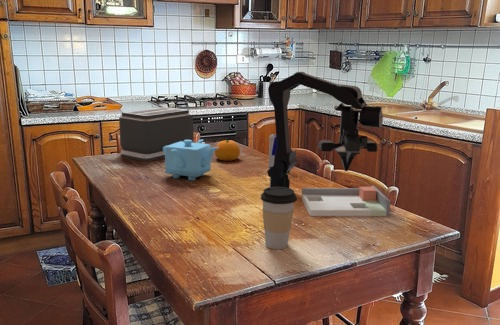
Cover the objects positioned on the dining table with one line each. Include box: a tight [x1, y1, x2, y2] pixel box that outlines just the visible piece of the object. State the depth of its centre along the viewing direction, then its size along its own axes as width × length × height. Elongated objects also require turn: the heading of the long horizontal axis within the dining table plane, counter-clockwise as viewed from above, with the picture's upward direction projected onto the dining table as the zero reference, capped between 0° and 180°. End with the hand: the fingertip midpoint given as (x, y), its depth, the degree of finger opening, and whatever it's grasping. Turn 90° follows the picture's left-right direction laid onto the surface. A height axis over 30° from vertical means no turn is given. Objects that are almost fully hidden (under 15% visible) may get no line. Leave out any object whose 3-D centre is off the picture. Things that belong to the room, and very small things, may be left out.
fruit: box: [214, 138, 241, 162], centre depth 220 cm, size 12×12×10 cm
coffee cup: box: [260, 186, 298, 250], centre depth 125 cm, size 9×9×15 cm
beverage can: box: [268, 133, 277, 169], centre depth 203 cm, size 5×5×15 cm
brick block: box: [359, 186, 377, 201], centre depth 161 cm, size 4×4×4 cm
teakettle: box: [163, 138, 218, 181], centre depth 189 cm, size 19×19×15 cm
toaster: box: [118, 106, 194, 162], centre depth 229 cm, size 19×35×20 cm, turn 145°
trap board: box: [301, 185, 391, 217], centre depth 157 cm, size 25×17×5 cm
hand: (345, 170), depth 160 cm, fingers closed
